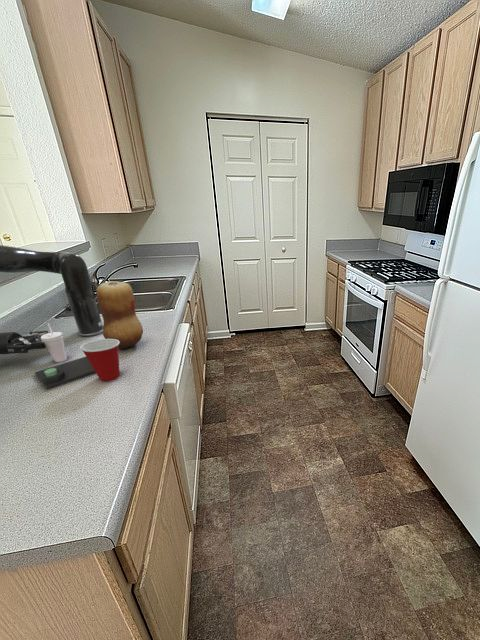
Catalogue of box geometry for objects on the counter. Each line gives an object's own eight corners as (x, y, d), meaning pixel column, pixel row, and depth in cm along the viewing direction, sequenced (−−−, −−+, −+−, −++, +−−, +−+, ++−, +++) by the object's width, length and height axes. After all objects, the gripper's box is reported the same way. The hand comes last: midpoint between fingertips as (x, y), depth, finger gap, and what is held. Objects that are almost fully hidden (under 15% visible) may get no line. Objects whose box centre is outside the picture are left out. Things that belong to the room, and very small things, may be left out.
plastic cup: (136, 371, 111) (126, 338, 105) (110, 387, 102) (98, 352, 96) (111, 367, 114) (100, 334, 109) (83, 382, 105) (70, 348, 99)
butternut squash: (142, 351, 124) (125, 285, 113) (104, 356, 122) (82, 289, 111) (149, 337, 136) (134, 277, 125) (114, 341, 134) (95, 279, 123)
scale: (35, 375, 110) (32, 367, 108) (88, 358, 120) (86, 351, 119) (47, 390, 101) (43, 381, 100) (103, 370, 112) (100, 363, 110)
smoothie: (61, 364, 116) (46, 327, 110) (45, 363, 118) (30, 326, 111) (75, 356, 122) (62, 320, 116) (60, 355, 123) (47, 319, 117)
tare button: (44, 375, 104) (43, 370, 104) (56, 371, 106) (54, 367, 106) (47, 378, 102) (45, 373, 102) (59, 374, 104) (57, 370, 104)
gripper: (-18, 341, 107) (36, 338, 108) (10, 326, 119) (58, 323, 121) (-8, 362, 110) (44, 358, 112) (19, 345, 123) (65, 341, 124)
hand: (51, 340), depth 116 cm, fingers open, 8 cm apart
